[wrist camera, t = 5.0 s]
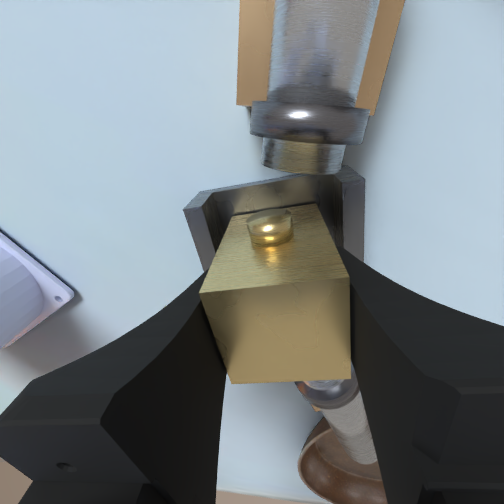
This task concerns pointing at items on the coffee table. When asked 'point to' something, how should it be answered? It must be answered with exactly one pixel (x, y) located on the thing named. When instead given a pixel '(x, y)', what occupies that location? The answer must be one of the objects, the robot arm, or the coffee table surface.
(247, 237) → the block
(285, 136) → the shaft
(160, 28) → the coffee table surface
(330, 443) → the plant saucer
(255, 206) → the cradle
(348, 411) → the shaft
